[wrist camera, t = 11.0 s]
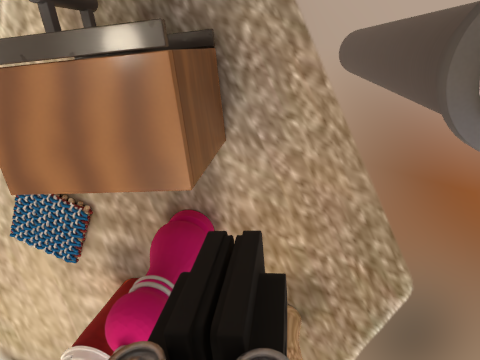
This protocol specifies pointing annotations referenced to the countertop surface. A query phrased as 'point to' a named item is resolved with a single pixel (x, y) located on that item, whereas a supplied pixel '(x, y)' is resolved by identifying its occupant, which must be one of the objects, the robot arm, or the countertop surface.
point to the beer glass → (293, 334)
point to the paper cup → (96, 332)
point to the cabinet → (109, 110)
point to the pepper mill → (157, 279)
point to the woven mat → (51, 224)
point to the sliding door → (85, 3)
